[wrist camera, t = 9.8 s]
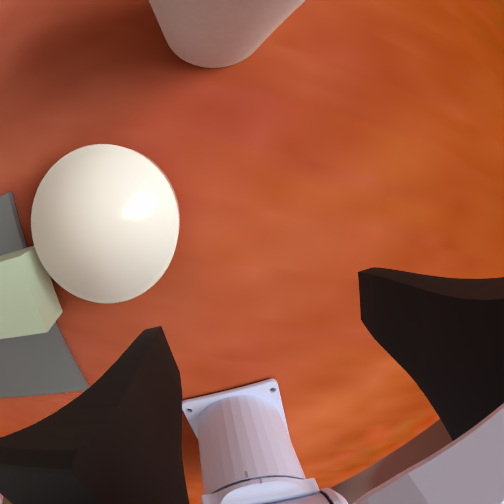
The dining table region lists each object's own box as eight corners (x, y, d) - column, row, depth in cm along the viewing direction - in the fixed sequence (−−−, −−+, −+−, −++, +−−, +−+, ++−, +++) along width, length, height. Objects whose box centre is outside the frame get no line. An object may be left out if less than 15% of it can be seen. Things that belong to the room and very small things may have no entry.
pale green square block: (62, 311, 19) (47, 332, 16) (13, 320, 18) (-5, 339, 15) (40, 243, 17) (19, 256, 14) (-10, 258, 17) (-31, 271, 14)
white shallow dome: (195, 266, 20) (196, 283, 18) (75, 297, 19) (60, 316, 16) (162, 130, 18) (157, 123, 15) (37, 172, 17) (15, 174, 14)
